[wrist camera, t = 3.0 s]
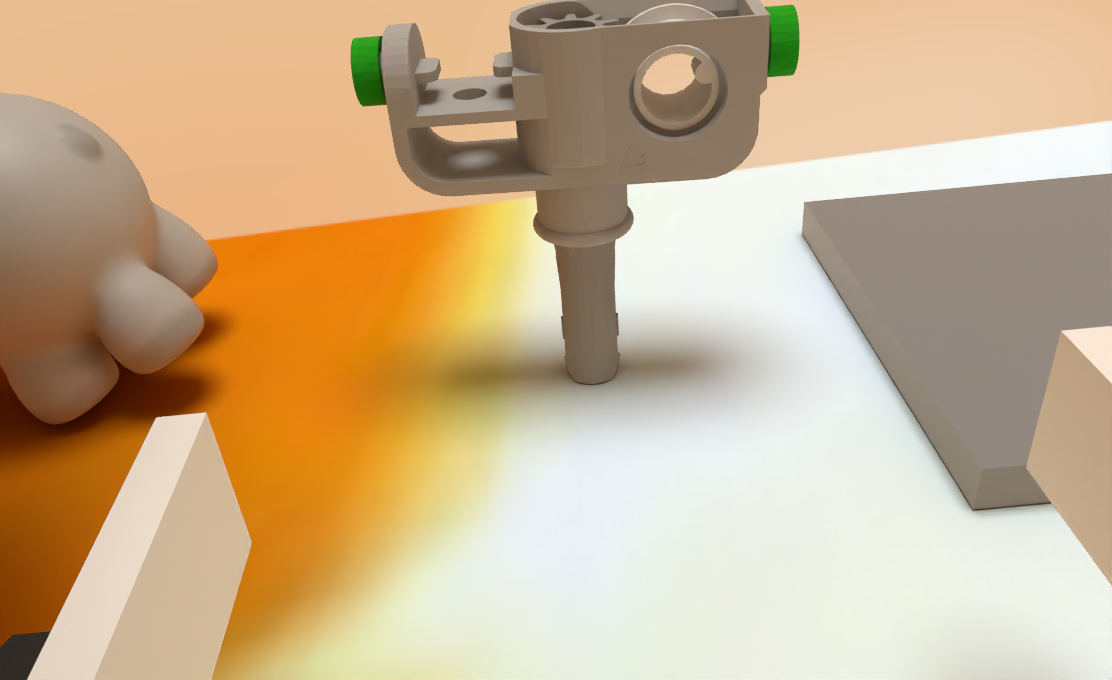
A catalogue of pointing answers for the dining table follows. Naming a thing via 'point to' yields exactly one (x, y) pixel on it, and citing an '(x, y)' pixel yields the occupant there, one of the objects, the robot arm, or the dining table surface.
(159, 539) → the robot arm
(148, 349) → the chubby cartoon animal
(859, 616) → the dining table surface
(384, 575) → the dining table surface
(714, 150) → the mechanical component
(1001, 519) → the dining table surface
